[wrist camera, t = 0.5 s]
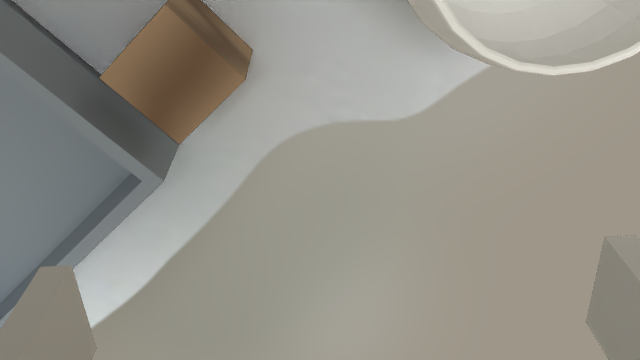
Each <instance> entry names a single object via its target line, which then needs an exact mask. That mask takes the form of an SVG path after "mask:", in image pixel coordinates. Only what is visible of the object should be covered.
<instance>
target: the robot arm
mask: <svg viewBox="0 0 640 360" xmlns="http://www.w3.org/2000/svg"><path fill="white" fill-rule="evenodd" d="M586 323H587V325H588V326H589V328H590V329H591V331H592V333H593V335H594V336H595V338H596V340H597V341H598V343H599V345H600V346H601V348H602V349H603V351H604V353H605V355H606V356H607V358H608V360H640V239H639V238H638V237H637V236H636V235H625V236H607V237H604V241H603V246H602V251H601V255H600V260H599V265H598V269H597V273H596V278H595V282H594V287H593V292H592V296H591V301H590V305H589V310H588V314H587V319H586ZM96 348H97V347H96V344H95V341H94V338H93V335H92V331H91V328H90V324H89V321H88V318H87V315H86V311H85V308H84V305H83V302H82V298H81V295H80V292H79V289H78V285H77V282H76V279H75V275H74V272H73V269H72V266H71V265H66V266H47V267H40V268H39V270H38V271H37V273H36V274H35V276H34V278H33V279H32V281H31V282H30V284H29V285H28V287H27V289H26V290H25V292H24V293H23V295H22V296H21V298H20V300H19V301H18V303H17V304H16V306H15V308H14V309H13V311H12V312H11V314H10V315H9V317H8V319H7V320H6V322H5V323H4V325H3V326H2V328H1V330H0V360H92V359H93V356H94V354H95V351H96Z"/></svg>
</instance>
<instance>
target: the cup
mask: <svg viewBox="0 0 640 360" xmlns="http://www.w3.org/2000/svg"><path fill="white" fill-rule="evenodd" d="M408 2H409V3H410V5H411V6H412V8H413V9H414V11H415V12H416V14H417V15H418V17H419V18H420V20H421V21H422V23H423V24H424V25H425V26H426V27H428V28H429V29H430V30H431V31H432V32H434V33H435V34H436V35H437V36H438V37H439V38H441V39H442V40H443V41H444V42H445V43H447V44H448V45H449V46H450V47H451V48H453V49H455V50H457V51H459V52H462V53H464V54H466V55H469V56H471V57H473V58H475V59H478V60H480V61H482V62H485V63H487V64H491V65H495V66H498V67H502V68H506V69H509V70H513V71H519V72H526V73H534V74H542V75H548V76H555V75H564V74H572V73H579V72H589V71H593V70H596V69H598V68H601V67H604V66H607V65H609V64H612V63H615V62H618V61H620V60H623V59H626V58H629V57H631V56H633V55H634V54H636V53H638V52H639V51H640V0H408Z"/></svg>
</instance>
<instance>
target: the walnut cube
mask: <svg viewBox="0 0 640 360" xmlns="http://www.w3.org/2000/svg"><path fill="white" fill-rule="evenodd" d="M251 55H252V49H251V48H250V47H249V46H248V45H247V44H246V43H245V42H244V41H243V40H242V39H241V38H240V37H239V36H238V35H237V34H236V33H235V32H234V31H233V30H232V29H230V28H229V27H228V26H227V25H226V24H225V23H224V22H223V21H222V20H221V19H220V18H219V17H218V16H217V15H216V14H215V13H214V12H213V11H212V10H211V9H210V8H209V7H208V6H206V5H205V4H204V3H203V2H202V1H201V0H168V1H167V2H166V3H165V4H164V6H163V7H162V8H161V9H160V10H159V11H158V12H157V13H156V14H155V16H154V17H153V18H152V19H151V20H150V21H149V22H148V23H147V24H146V26H145V27H144V28H143V29H142V30H141V31H140V32H139V33H138V34H137V36H136V37H135V38H134V39H133V40H132V41H131V42H130V43H129V44H128V46H127V47H126V48H125V49H124V50H123V51H122V52H121V53H120V55H119V56H118V57H117V58H116V59H115V60H114V61H113V63H112V64H111V65H110V66H109V67H108V68H107V69H106V70H105V72H104V73H103V74H102V75H101V76H100V77H99V78H100V79H101V80H102V81H103V82H105V83H106V84H107V85H108V86H110V87H111V88H112V89H113V90H114V91H116V92H117V93H118V94H119V95H120V96H122V97H123V98H124V99H125V100H126V101H128V102H129V103H130V104H131V105H132V106H134V107H135V108H136V109H137V110H139V111H140V112H141V113H142V114H143V115H145V116H146V117H147V118H148V119H149V120H151V121H152V122H153V123H154V124H155V125H157V126H158V127H159V128H160V129H162V130H163V131H164V132H165V133H166V134H168V135H169V136H170V137H171V138H172V139H174V140H175V141H176V142H177V143H178V144H180V143H181V142H182V141H183V140H184V139H185V138H186V137H187V136H188V135H189V134H190V133H191V132H192V131H194V130H195V129H196V128H197V127H198V126H199V125H200V124H201V123H202V122H203V121H204V120H205V119H206V118H207V117H208V116H209V115H210V114H211V113H212V112H213V111H214V110H215V109H216V108H217V107H218V106H219V105H220V104H221V103H222V102H223V101H224V100H225V99H226V98H227V97H228V96H229V95H230V94H231V93H232V92H233V91H234V90H235V89H236V88H237V87H238V86H239V85H240V84H241V83H242V82H243V81H244V80H245V79H246V76H247V72H248V67H249V63H250V59H251Z"/></svg>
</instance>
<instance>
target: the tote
mask: <svg viewBox="0 0 640 360" xmlns="http://www.w3.org/2000/svg"><path fill="white" fill-rule="evenodd" d="M100 76H101V75H100V74H99V73H98V72H97V71H95V70H94V69H93V68H92V67H91V66H89V65H88V64H87V63H86V62H85V61H83V60H82V59H81V58H80V57H79V56H77V55H76V54H75V53H74V52H73V51H71V50H70V49H69V48H68V47H67V46H65V45H64V44H63V43H62V42H61V41H59V40H58V39H57V38H56V37H55V36H53V35H52V34H51V33H50V32H49V31H47V30H46V29H45V28H44V27H43V26H41V25H40V24H39V23H38V22H36V21H35V20H34V19H33V18H32V17H30V16H29V15H28V14H27V13H26V12H24V11H23V10H22V9H21V8H20V7H18V6H17V5H16V4H15V3H14V2H12V1H11V0H0V330H1V328H2V326H3V325H4V323H5V322H6V320H7V319H8V317H9V315H10V314H11V312H12V311H13V309H14V308H15V306H16V304H17V303H18V301H19V300H20V298H21V296H22V295H23V293H24V292H25V290H26V289H27V287H28V285H29V284H30V282H31V281H32V279H33V278H34V276H35V274H36V273H37V271H38V270H39V268H40V267H47V266H66V265H71V266H72V269H73V268H74V267H75V266H76V265H77V264H78V263H79V262H81V261H82V260H83V259H84V258H85V257H86V256H87V255H88V254H89V253H90V252H91V251H92V250H93V249H94V248H95V247H96V246H97V245H98V244H99V243H100V242H101V241H102V240H103V239H104V238H105V237H106V236H108V235H109V234H110V233H111V232H112V231H113V230H114V229H115V228H116V227H117V226H118V225H119V224H120V223H121V222H122V221H123V220H124V219H125V218H126V217H127V216H128V215H129V214H130V213H131V212H132V211H133V210H135V209H136V208H137V207H138V206H139V205H140V204H141V203H142V202H143V201H144V200H145V199H146V198H147V197H148V196H149V195H150V194H151V193H152V192H153V191H154V190H155V189H156V188H157V187H158V186H159V185H160V184H161V183H163V182H164V179H165V177H166V175H167V172H168V170H169V167H170V165H171V163H172V160H173V158H174V155H175V153H176V151H177V148H178V146H179V144H178V143H177V142H176V141H175V140H174V139H172V138H171V137H170V136H169V135H168V134H166V133H165V132H164V131H163V130H162V129H160V128H159V127H158V126H157V125H155V124H154V123H153V122H152V121H151V120H149V119H148V118H147V117H146V116H145V115H143V114H142V113H141V112H140V111H139V110H137V109H136V108H135V107H134V106H132V105H131V104H130V103H129V102H128V101H126V100H125V99H124V98H123V97H122V96H120V95H119V94H118V93H117V92H116V91H114V90H113V89H112V88H111V87H110V86H108V85H107V84H106V83H105V82H103V81H102V80H101V79H100V78H99V77H100Z"/></svg>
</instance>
